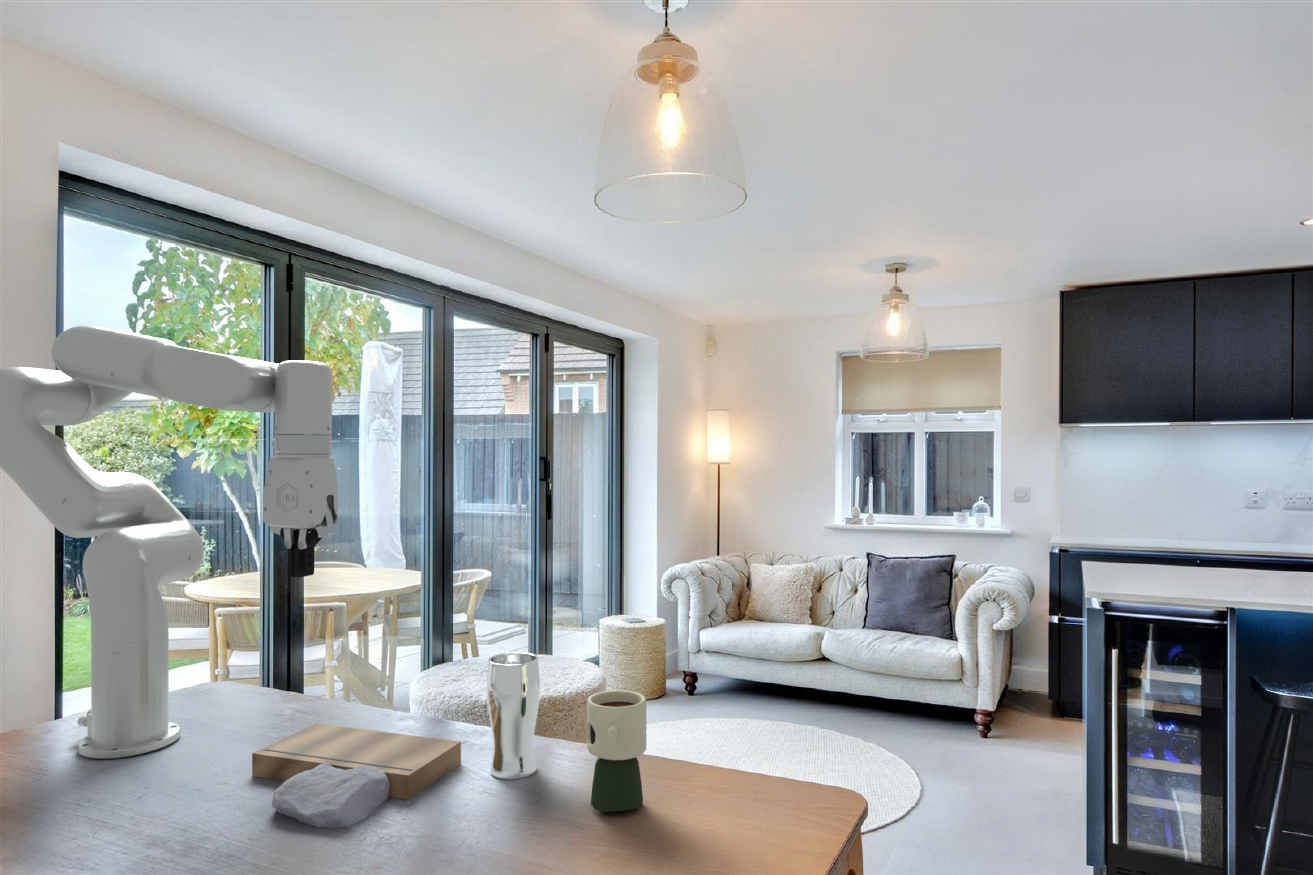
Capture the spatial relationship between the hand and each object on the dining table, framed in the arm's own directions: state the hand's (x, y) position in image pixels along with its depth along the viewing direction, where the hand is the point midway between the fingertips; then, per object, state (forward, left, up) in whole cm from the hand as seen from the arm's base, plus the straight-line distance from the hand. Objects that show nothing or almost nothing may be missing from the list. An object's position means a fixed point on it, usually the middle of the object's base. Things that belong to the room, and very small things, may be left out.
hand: (301, 575), depth 118 cm
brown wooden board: (+13, -4, -25) cm, 28 cm away
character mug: (+50, -4, -25) cm, 56 cm away
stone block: (+17, -15, -25) cm, 34 cm away
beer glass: (+33, +2, -25) cm, 41 cm away
